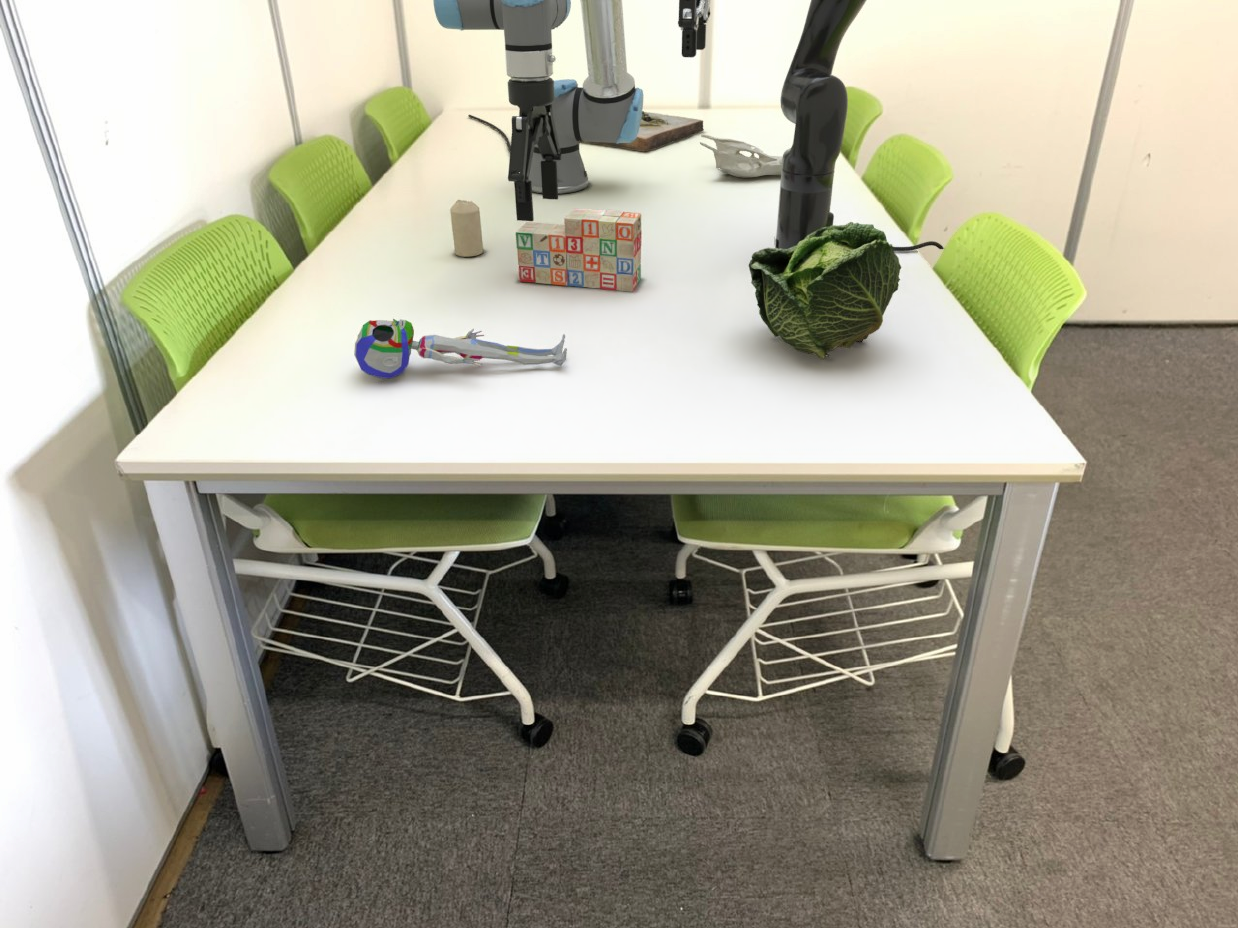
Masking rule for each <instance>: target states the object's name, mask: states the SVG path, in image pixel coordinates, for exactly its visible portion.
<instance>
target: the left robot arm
mask: <svg viewBox="0 0 1238 928" xmlns="http://www.w3.org/2000/svg"><path fill="white" fill-rule="evenodd" d="M432 1H433V7H434V8H433V9H434V10H433V11H434V14H435V18H436V21H437V22H438V23H439V25H440V26H441V27H442V28H443V29H448V30H459V31H461V32H462V31H497V30H498V31H503V35H504V36H503V37H504V53H505V55H504V56H505V73H506V76H508V78H509V79H508V81H507V95H508V102H509V104H510V105H512V106H514V107H518V108H519V111H518V115H512V116H511V139H510V140H509V138H508V137H507V134H505V132H504V131H503V130H501V128H499V127H498V126H496V125H495V124H493V123H490V122H489V121H486V120H485V119H482V118H479V117H477V116H474V115H472V114H468V118H471V119H473V120H476V121H478V122H481V123H482V124H485V125H487V126H489V127H491V128H493V129H494V130H496V131H497V132H499V134H501V136H503V138H504V140H505V142H506V144H507V147H508V150H509V161H508V162H509V163H508V173H507V174H508V175H507V180H508V182H513V183H514V197H515V211H516V212H515V213H516V221H520V222H534V203H533V193H535V194H536V193H537V194H542V199H543V200H558V199H559V195H562V194H570V193H576V192H579V191H583V190H584V189H586V188H587V187H589V175H588V173H587V172H588V171H587V170H586V168H585V164H584V161H583V158H582V156H581V153H580V142H581V143H585V142H607V143H616V144H618V143H630V142H633V141H634V140H635V139H636V138H637V135H638V132H639V128H640V123H641V117H642V111H643V107H644V90H643V89H642V88H639V87H636V82H635V78H634V76H633V75H632V74H630V73H629V72H628V67H627V66H628V65H627V52H626V51H627V50H626V37H625V23H624V10H623V9H624V8H623V0H580V10H581V18H582V28H583V38H584V47H585V57H586V58H585V59H586V67H587V75H588V76H587V77H586V78H585V79H584V81H583V82H582V87H579V84H578V82H577V80H576V79H569V78H567V79H557V80H554V79H553V78H552V77H551V76H553V74H554V63H555V62H556V59H557V57H556V56H555V55H553V39H552V37H553V36H552V35H553V33H552V31H553V30H555V29H558V27H560V26H561V25H563V23H564V22H565V21H566V20H567V18H568V17H569V14H570V13H571V9H572V8H571V7H572V2H571V0H432Z"/></svg>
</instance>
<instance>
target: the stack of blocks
mask: <svg viewBox="0 0 1238 928" xmlns="http://www.w3.org/2000/svg"><path fill="white" fill-rule="evenodd" d="M606 210H607V211H606ZM515 242H516V249H517V252H516V254H517V265H518V276H519V277H518V279H519V282H525V283H535V284H544V285H555V286H565V287H566V286H569V287H581V288H590V289H601V290H611V291H622V292H630V293H631V292H632V293H633V292H634V291H635V290H636V288H637V286H638V285H639V283H640V281H641V279H642V264H641V263H642V213H641V212H630V211H629V212H628V211H624V210H615V209H590V208H575V207H574V208H573V209H572V210H571V211H570V212H569V213H568V214H567V215H566V216H565V217H564V224H559V223H552V222H551V223H550V222H549V223H548V222H543V223H542V222H534V221H525V223H524V224H523V225H521V227H520V228H519V229H517V230H516V231H515Z"/></svg>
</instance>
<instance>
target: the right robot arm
mask: <svg viewBox="0 0 1238 928" xmlns="http://www.w3.org/2000/svg"><path fill="white" fill-rule="evenodd" d="M867 1H868V0H810V3H809V6H808V10H807V13H806V18H805V22H804V25H803V29H802V32H801V34H800V38H799V40H798V44H797V47H796V49H795V52H794V55H793V57H792V60H791V63H790V66H789V68H788V70H787V73H786V76H785V79H784V82H783V84H782V88H781V92H780V109H781V112H782V114H783V116H784V118H786V119H787V120H788V121H789V122H791V123H792V124H794V125H795V126H794V134H793V141H792V145H791V147H790V148H787V149H786V150H785V151H784V152H783V154H782V157H783V158H782V170H781V175H780V183H779V194H778V195H779V197H778V206H777V207H778V208H777V221H776V233H775V237H774V238H773V239H774V240H773V246H774V248H781V249H789V248H791V247H794V246H796V245H798V243H799V242H800V241H802V240H804V239H805V237H806V236H808V235H809V234H811V233H813V232H815V231H817V230H818V229H820V228H824V227H829V226H833V225H834V219H835V215H834V213H833V212H831V206H832V205H831V204H832V195H833V185H834V178H835V169H836V161H837V160H838V158H839V156H840V155H841V151H842V147H843V141H844V135H845V129H846V124H847V118H848V117H847V116H848V107H849V105H848V104H849V96H848V91H847V87H846V85H845V83H844V82H843V80H841V79H840V78H839V77H837V76H836V75H834V74H832V73H833V69H834V65H835V62H836V59H837V55H838V51H839V48H840V45H841V43H842V41H843V39H844V37H845V35H846V33H847V31H848V30H849V28H850V26H851V25H852V24H853V22H854V20H855V19H856V18H857V16H858V15H859V14H860V12H861V10H862V9H863V7H864V6H865V4H866V2H867ZM710 17H711V0H678V21H677V25H678V28H680V31H681V57H682V58H695V57H696V55H697V51H703V50H704V49H706V44H707V42H706V41H707V24H708V22H709V18H710ZM930 246H933V247H936V248H938V250H944V249H945V248H944V246H943V245H942V244H940V243H939V242H937V241H935V240H934V241H933V240H932V241H931V240H930V241H925V242H921V243H918V244H915V245H912V246H893V247H894V252H910V251H915V250H918V249H919V250H920V249H922V248H925V247H930Z"/></svg>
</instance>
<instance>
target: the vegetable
mask: <svg viewBox="0 0 1238 928" xmlns="http://www.w3.org/2000/svg"><path fill="white" fill-rule="evenodd" d="M894 247H895V246H894V245H893V243H889V241H888V239H887V235H886V232H884V231H883V230H880V229H878V228H876V227H875V225H874V224H871V223H869V224H868V223H859V222H855V223H854V222H853V221H850V222H848V223H845V224H840V225H836V224H835V225H834V224H833V226H829V227H824V228H820V229H818V230H817V231H815V232H813V233H811V234H809V235H808V236H806V237H805V239H804V240H802V241H800V242H799V243H798V245H796V246H794V247H791V248H789V249H781V248H775V247H766V248H762V249H759V250H758V251H756V252H753V253H752V255H751V259H750V260H749V263H748V269H749V272H750V273H749V274H750V278H751V282H750V283H751V285H752V286H753V288H755V292H754V296H755V299H756V302H757V304H756V306H757V307H758V309H759V310H758V314H759V316H760V318H761V320H762V322H763V323H764V324H765V325H766V326H767V328H768V329H769V331H770V332H771V334H772V335H773V336H774V337H775V338H776V337H779V338H780V339H781V340H782V341H783V342H784V343H785V345H786V344H787V345H788V346H789V347H791V348H793V349H794V350H796V351H798V352H802V353H806V354H812V355H815V356H817V357H818V358H819V359H821V360H824V358H825V357H830V354H829V352H831V351H833V350H834V349H836V347H844V348H846V349H850V348H851V347H852V346H853V345H854V344H858V343H863V342H864V341H865V340H866V339H868V338H869V336H870V335H871V334H874V333H876V332H877V331H878V330H879V329H880V328H881V326H882V324H883V322H884V317H883V316H884V314H885V313H886V311H887V308H888V306H889V304H890V302H891V300H892V298H893V295H894V293H895V292H897V291H898V290H899V285H900V284H899V281H901V278H900V273H901V269H902V266H901V264H900V259H899V256H897V254H896V253H895V251H894Z"/></svg>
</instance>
